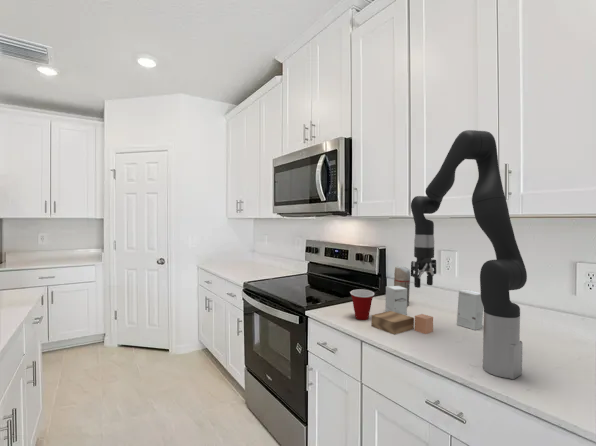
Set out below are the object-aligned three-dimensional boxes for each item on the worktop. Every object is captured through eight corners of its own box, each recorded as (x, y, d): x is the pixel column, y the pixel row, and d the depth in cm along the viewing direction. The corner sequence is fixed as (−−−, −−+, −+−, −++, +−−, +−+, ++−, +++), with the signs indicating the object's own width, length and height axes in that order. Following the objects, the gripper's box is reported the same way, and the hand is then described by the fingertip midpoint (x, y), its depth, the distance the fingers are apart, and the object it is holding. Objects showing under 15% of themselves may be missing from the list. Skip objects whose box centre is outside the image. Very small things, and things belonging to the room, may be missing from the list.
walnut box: (413, 329, 136) (413, 317, 136) (394, 335, 129) (394, 322, 129) (390, 322, 146) (390, 310, 146) (371, 326, 139) (371, 315, 139)
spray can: (398, 301, 181) (398, 265, 180) (412, 304, 175) (412, 266, 174) (389, 304, 175) (390, 266, 175) (404, 307, 169) (404, 268, 169)
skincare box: (456, 325, 142) (457, 290, 141) (464, 322, 145) (464, 288, 145) (476, 330, 134) (476, 294, 134) (484, 328, 138) (484, 292, 138)
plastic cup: (351, 321, 145) (351, 294, 145) (348, 314, 156) (349, 289, 156) (376, 322, 144) (376, 294, 144) (372, 315, 155) (372, 289, 155)
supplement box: (393, 316, 153) (393, 289, 153) (385, 312, 161) (385, 286, 160) (407, 315, 155) (407, 288, 155) (398, 311, 163) (398, 285, 162)
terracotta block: (433, 331, 133) (433, 316, 133) (425, 334, 130) (425, 318, 130) (421, 328, 137) (422, 313, 137) (414, 330, 134) (414, 315, 134)
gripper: (422, 247, 126) (421, 290, 126) (442, 245, 134) (442, 285, 135) (405, 246, 132) (404, 286, 132) (425, 244, 140) (425, 282, 141)
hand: (423, 286), depth 133 cm, fingers open, 8 cm apart
